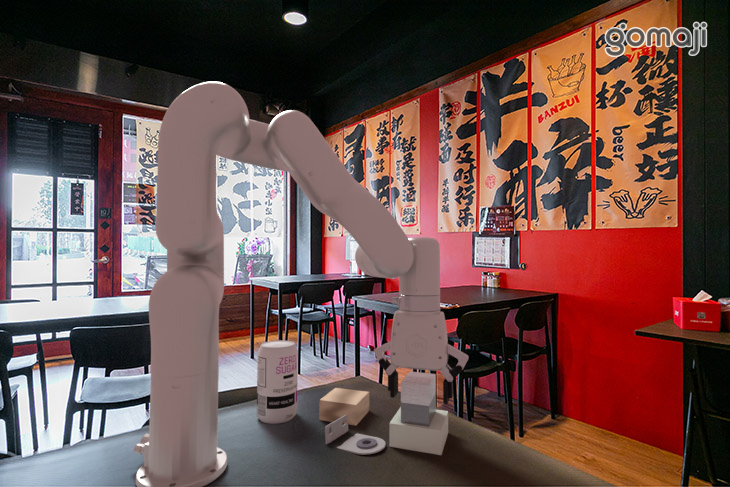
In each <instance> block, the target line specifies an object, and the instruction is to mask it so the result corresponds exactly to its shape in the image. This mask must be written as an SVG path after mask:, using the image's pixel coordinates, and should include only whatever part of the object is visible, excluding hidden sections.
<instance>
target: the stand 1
mask: <svg viewBox="0 0 730 487" xmlns="http://www.w3.org/2000/svg"><path fill="white" fill-rule="evenodd" d="M318 408H319V411H318V412H319V415H318V417H319V418H318V419H319V421H323V422H324V421H325V422H330V423H332V422H334V421H335V420H337V419H339V418H341V417H342V416H344V415H347V417H348V426H349V425H350V426H357V425H358V424H359V423H360V422H361V421H362V419H363V418H364V417H365V416H366V415H367V414H368V413H369V411H370V391H367V390H365V391H364V390H356V389H347V388H341V387H335V388H333V389H332V390H330V391H329V392H328V393H327V394H326V395H324V396H323V397H322V398H320V399H319V406H318ZM344 424H345V420H344V421H343V422H342V425H344Z"/></svg>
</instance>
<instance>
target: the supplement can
mask: <svg viewBox="0 0 730 487" xmlns="http://www.w3.org/2000/svg"><path fill="white" fill-rule="evenodd" d="M298 352H299V350H298V348H297V346H296V343H295V341H292V340H291V341H290V340H281V339H279V340H270V341H265V342H264V341H263V342H262V343H261V344H260V347H259V349H258V350H257V368H256V370H257V374H256V375H257V376H256V377H257V378H256V379H257V381H256V383H257V384H256V385H257V386H256V417H257V418H258V419H259V421H261V422H262V423H265V424H270V425H271V424H272V425H275V424H283V423H287V422H289V421H291V420H293V419H294V418H295V416H296V415H297V414H298V380H299V378H298V374H299V372H298V370H299V367H298V366H299V363H298V362H299V361H298V360H299V359H298V358H299V353H298Z"/></svg>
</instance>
